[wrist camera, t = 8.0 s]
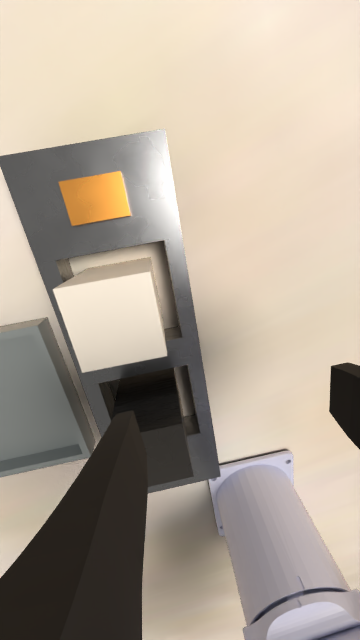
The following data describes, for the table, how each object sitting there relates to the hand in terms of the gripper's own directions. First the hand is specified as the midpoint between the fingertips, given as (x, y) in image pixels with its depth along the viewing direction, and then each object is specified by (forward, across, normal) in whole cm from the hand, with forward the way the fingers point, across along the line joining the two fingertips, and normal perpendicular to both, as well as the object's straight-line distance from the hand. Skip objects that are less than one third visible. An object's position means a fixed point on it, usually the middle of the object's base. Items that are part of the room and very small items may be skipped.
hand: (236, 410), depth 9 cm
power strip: (+9, +4, +1) cm, 10 cm away
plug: (+9, +4, -3) cm, 11 cm away
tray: (+9, +15, +3) cm, 18 cm away
